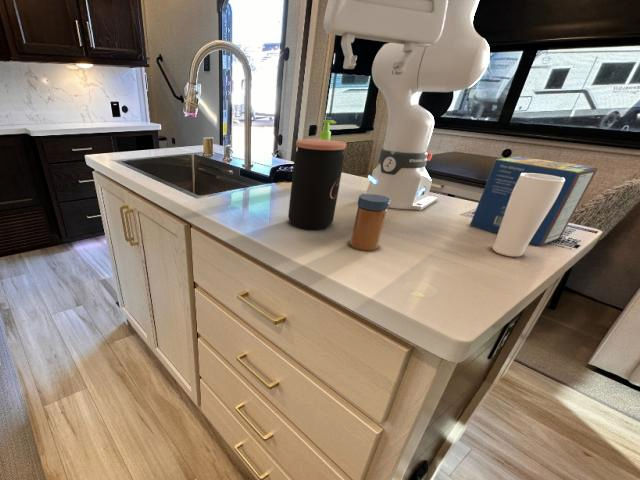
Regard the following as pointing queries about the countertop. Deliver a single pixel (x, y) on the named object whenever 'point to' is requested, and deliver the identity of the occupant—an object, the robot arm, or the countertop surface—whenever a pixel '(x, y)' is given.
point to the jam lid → (373, 202)
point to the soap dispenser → (326, 130)
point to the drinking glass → (526, 211)
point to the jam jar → (367, 229)
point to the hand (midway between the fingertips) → (373, 71)
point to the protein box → (503, 185)
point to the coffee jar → (315, 183)
